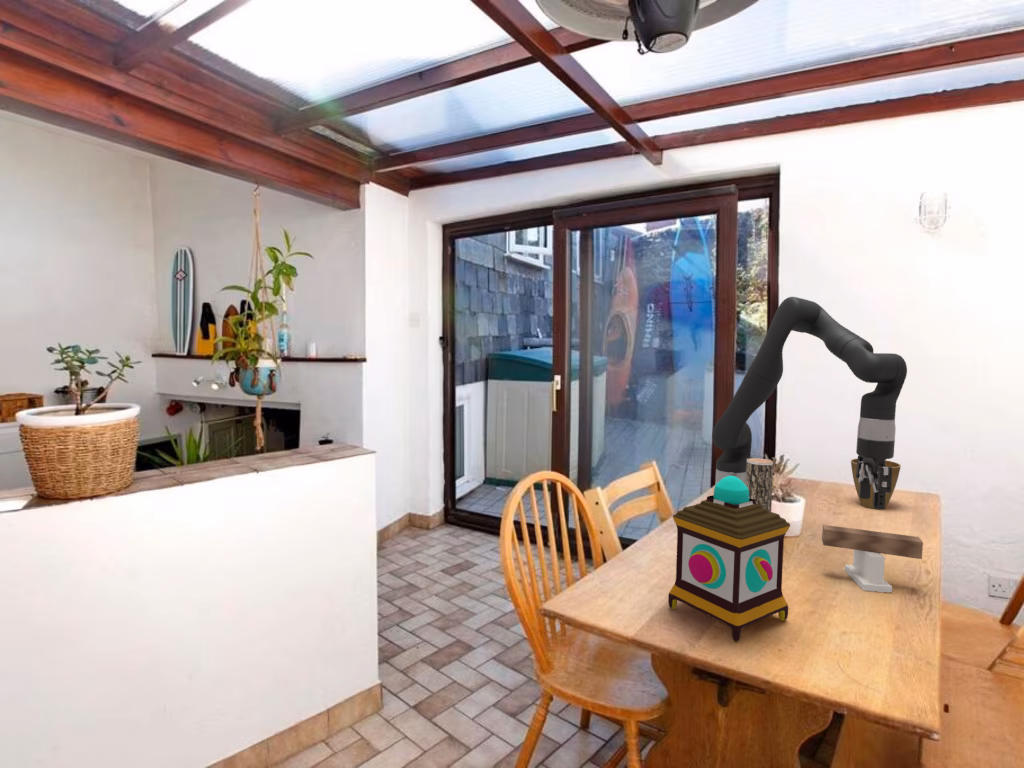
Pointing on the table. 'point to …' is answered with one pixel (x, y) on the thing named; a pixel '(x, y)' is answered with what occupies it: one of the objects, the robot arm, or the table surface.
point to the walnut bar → (872, 541)
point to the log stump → (760, 481)
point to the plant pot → (869, 502)
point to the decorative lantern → (730, 558)
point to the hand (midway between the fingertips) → (871, 503)
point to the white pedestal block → (868, 571)
